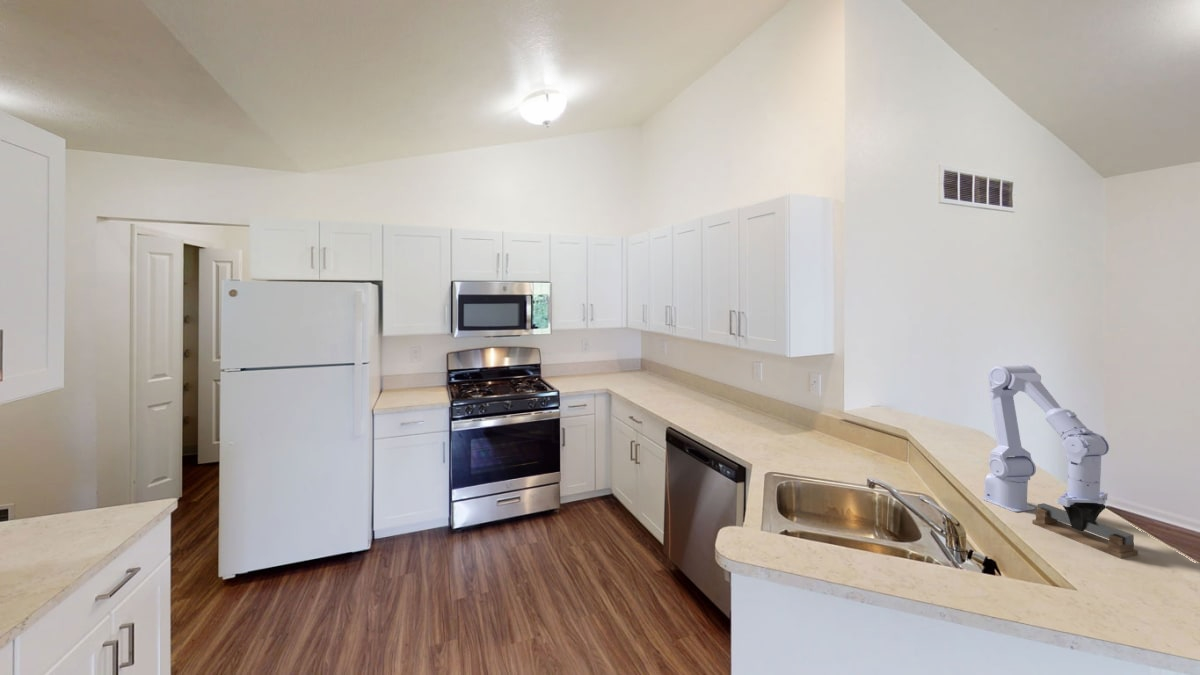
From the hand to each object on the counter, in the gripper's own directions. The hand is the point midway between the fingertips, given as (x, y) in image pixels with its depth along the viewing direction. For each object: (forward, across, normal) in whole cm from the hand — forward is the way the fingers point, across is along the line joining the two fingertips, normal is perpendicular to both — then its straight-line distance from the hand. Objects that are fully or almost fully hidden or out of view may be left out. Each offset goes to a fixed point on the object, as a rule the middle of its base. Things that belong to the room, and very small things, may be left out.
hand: (1081, 528), depth 114 cm
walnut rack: (+3, 0, 0) cm, 3 cm away
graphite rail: (0, 0, 0) cm, 0 cm away
